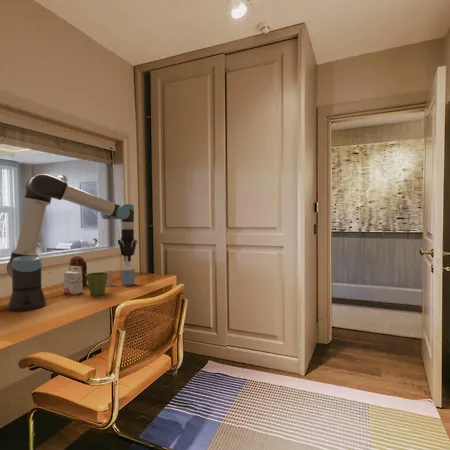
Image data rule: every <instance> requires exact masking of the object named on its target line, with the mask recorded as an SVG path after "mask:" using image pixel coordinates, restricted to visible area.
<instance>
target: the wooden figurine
mask: <svg viewBox="0 0 450 450" xmlns="http://www.w3.org/2000/svg"><path fill="white" fill-rule="evenodd" d="M70 266H81V267H82V287H83V286H86V285H88V280H87V277H86V276H85V275H86V274H88V272H87V271H88V269H87V268H88V267H87V262H86V261H85V259H84V258H83V257H82V256H80V255H79V256H78V255H75V256H72V257H71V258H70V260H69V268H68V269H69V270H68V271H70ZM74 269H78V268H74Z"/></svg>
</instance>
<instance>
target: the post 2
mask: <svg viewBox="0 0 450 450" xmlns="http://www.w3.org/2000/svg"><path fill="white" fill-rule="evenodd" d="M133 284H134V285H135V284H136V282H135V283H132V284H121V286H122V287H132V286H134V285H133Z"/></svg>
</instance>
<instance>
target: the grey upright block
mask: <svg viewBox="0 0 450 450" xmlns="http://www.w3.org/2000/svg"><path fill="white" fill-rule="evenodd" d="M135 274H136V270H135V268H125V269H121V273H120V275H121V276H120V277H121V279H120V280H121V281H120V282H121V285H122V284H132V283H135V284H136V278H135V277H136V275H135Z"/></svg>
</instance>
